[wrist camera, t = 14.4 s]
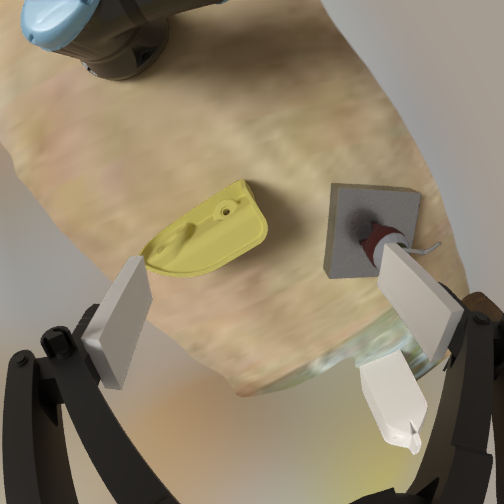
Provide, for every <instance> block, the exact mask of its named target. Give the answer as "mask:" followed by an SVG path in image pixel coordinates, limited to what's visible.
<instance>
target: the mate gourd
mask: <svg viewBox="0 0 504 504" xmlns="http://www.w3.org/2000/svg"><path fill="white" fill-rule="evenodd" d="M371 229H372V232H371V233H370V234H369V236H368V238H365V239H362V240H359V244H360V245H362V247H363V250H364V252H365V253H366V255H367V257H368V259H369V261H370V262H371V264H372V265H373V266H374V267H375V268H377V269H378V270H380V268H381V262H382V257H383V251H384V245H385V243H397V244H398V245H399V246H400V247H401V248H402V249H403V250H404V251H405V252H406V253H408V254H409V255H410V252H411V253H417V254H419V255H425V254H427V253H429V252H431V251H433V250H434V249H435V248H437V247H438V246H439V245H440V244H441V243H440V242H438V243H437V244H435V245H433V246H432V247H430V248H429V249H426V250H425V249H419V250H417V249H410V244H409V242H408V240H407V238H406V237H405V235H404V234H403V233H402V232H400V231H399V230H397V229H396V228H394V227H389V226H382V225H379V224H376V222H375V221H371Z"/></svg>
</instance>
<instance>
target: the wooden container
mask: <svg viewBox="0 0 504 504" xmlns="http://www.w3.org/2000/svg"><path fill="white" fill-rule="evenodd" d="M462 302H463V303H464V305H465V306H466V307H467V308H468V309H469V310H470V311H471V312H472V311H479V312H482V313H484V314H486V315H487V316H488V317H489V318H490V319H491V321H500V320H501V318H502V316H503V314H504V313H503V312H502V311H501V310H500V309H499V308H498V307H497V306H496V305H495V304H494V303H493V302H492V301H491V300H490V299H488V297H487V296H485V295H484V294H483V293H482V292H475V293H472V294H470V295H468V296H467V297H465V298H464V299H463V300H462Z"/></svg>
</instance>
